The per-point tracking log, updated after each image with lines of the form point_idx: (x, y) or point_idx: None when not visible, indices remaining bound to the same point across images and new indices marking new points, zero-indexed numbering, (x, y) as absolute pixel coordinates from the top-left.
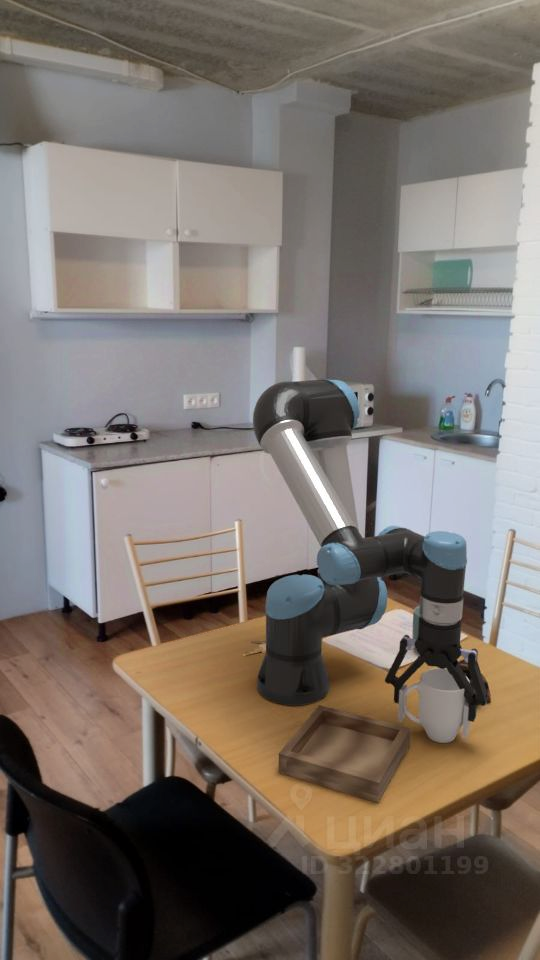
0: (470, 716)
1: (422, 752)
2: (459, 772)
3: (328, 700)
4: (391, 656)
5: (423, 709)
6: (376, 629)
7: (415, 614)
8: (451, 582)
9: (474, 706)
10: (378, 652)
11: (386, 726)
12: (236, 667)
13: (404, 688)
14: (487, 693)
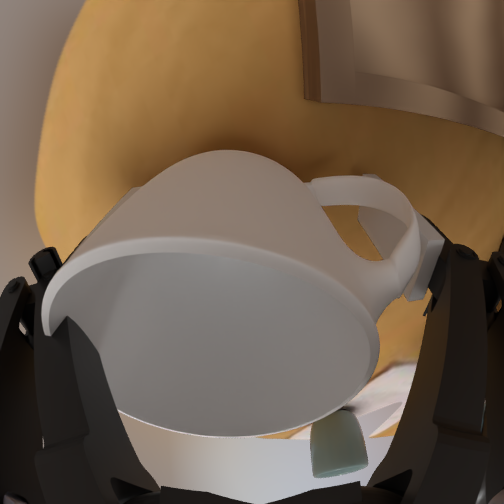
0: None
1: (253, 86)
2: (118, 60)
3: (499, 229)
4: (386, 388)
5: (294, 179)
6: (401, 410)
7: (365, 462)
8: None
9: (33, 259)
10: (405, 385)
11: (407, 81)
12: None
13: (422, 267)
14: None
